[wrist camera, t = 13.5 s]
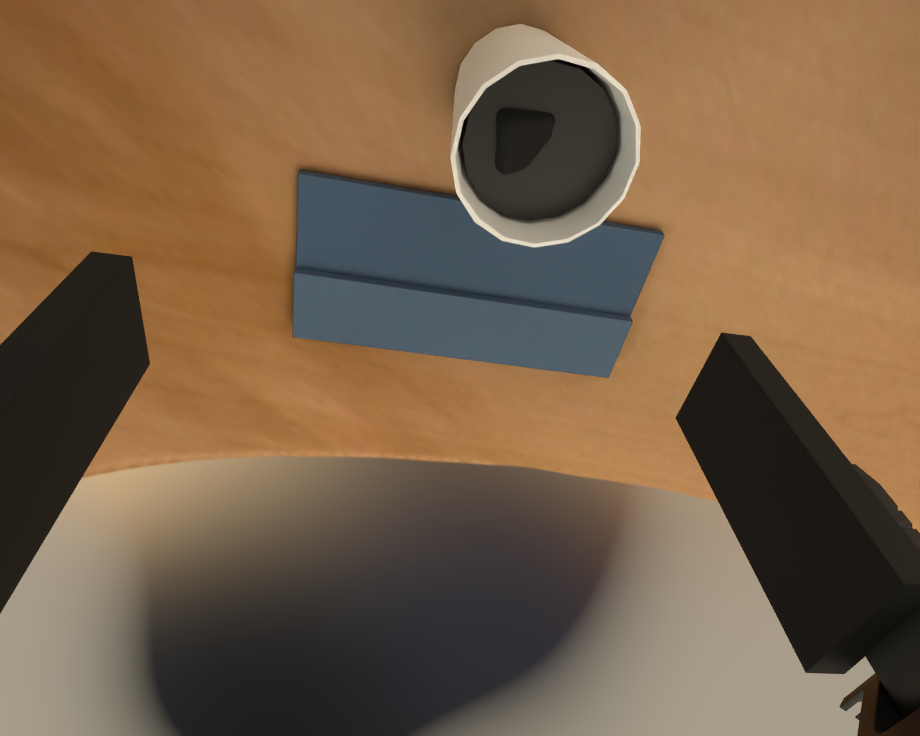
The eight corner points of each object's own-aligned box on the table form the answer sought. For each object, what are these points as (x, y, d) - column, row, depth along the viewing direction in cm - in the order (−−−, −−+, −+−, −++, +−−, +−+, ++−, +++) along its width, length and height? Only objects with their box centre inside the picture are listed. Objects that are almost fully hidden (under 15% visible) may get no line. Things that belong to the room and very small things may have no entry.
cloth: (296, 328, 36) (292, 339, 35) (300, 169, 30) (295, 177, 29) (603, 369, 39) (607, 380, 38) (662, 230, 33) (668, 239, 32)
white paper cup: (443, 159, 30) (447, 245, 22) (447, 9, 26) (453, 49, 18) (571, 163, 31) (619, 249, 23) (594, 16, 27) (663, 57, 19)
